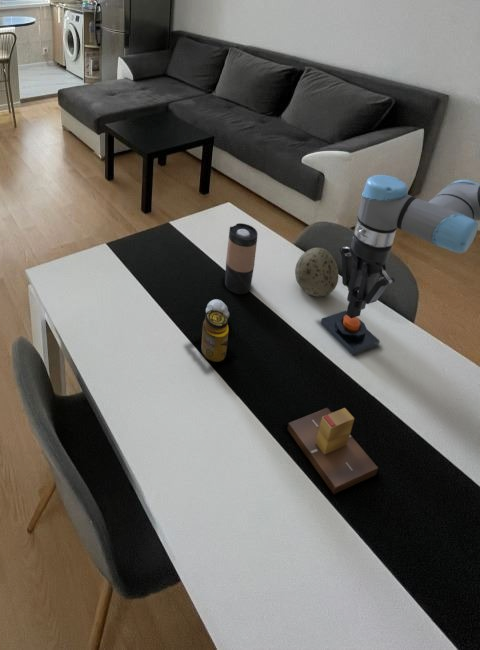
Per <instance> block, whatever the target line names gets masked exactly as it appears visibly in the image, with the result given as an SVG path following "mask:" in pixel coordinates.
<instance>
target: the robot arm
mask: <svg viewBox="0 0 480 650" xmlns="http://www.w3.org/2000/svg"><path fill="white" fill-rule="evenodd" d="M408 188H409V187H408V185H407V183H406V182H404V181H402V180H401V179H400V178H398V177H395V176H392V175H385V174H376V175H375V174H374V175H372V176H370V177H368V178H367V180H366V182H365V184H364V188H363V191H362V193H361V198H360V203H359V208H358V214H357V217H356V222H355V225H354V230H353V234H352V238H351V241H350V245H346V246H342V247H340V248H339V252H340V256H341V281H342V285H343V286H344V287H347V291H348V293H347V297H346V300H347V302H348V305H347V309H346V311H347V313H346V314H347V315H348V316H349V317H350V318H354V317H357V318H358V317H360V316H361V313H362V310H365V309H366V307H367V306H366V305H370V304H372V303H376V302H377V301H378V299H380V297H381V296H382V294H383V293H384V292H385V290H386V289H387V288H388V287H389V285H391V284H394V283H396V279H395V278H394V277H393V276H389V274H388V273H387V262H388V260H389V258H390V254H391V251H392V247H393V246H392V245H393V244H394V240H395V236H396V233H397V229H399V230H401V231H404V232H406V233H408V234H411V235H413V236H414V237H417V238H419V239H421V240H424V241H426V242H428V243H430V244H433V245H435V247H438V248H442V249H446V250H448V251H451V252H453V253H456V254H464V253H466V252H467V251H468V250H469V248H470V246H471V245H472V243H473V241H474V239H475V238H476V235H477V232H478V229H479V223H478V222H477V221H480V183H479V182H476V181H473V180H470V179H458V180H455V181H452V182H451V183H449V184H447V185H445V186H444V187H443V188H442V189H441V190H440V191H439V192H438V193H437V194H436V195H435V196H434V197H432V199H430V200H429V201H426V200H423V199H421V198H418V197H415V196H413V195H410V194H409V191H408ZM377 275H379V276H378V278H377ZM375 278H377V282H375V283H374V281H375Z"/></svg>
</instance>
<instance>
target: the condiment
mask: <svg viewBox="0 0 480 650" xmlns="http://www.w3.org/2000/svg"><path fill="white" fill-rule="evenodd" d="M228 324H229V318H228V319H227V316H226V315H225V314H224V313H223V312H221V311H219V310H210V311H208V312H207V313H206V312H205V316H204V320H203V321H202V332H201V333H202V334H201V335H202V336H201V346H200V347H201V349H200V350H201V353H202V355H203V356H204V358H205V359H207V360H208V361H210V362H213V363H219V362H223V361H224V359H225V358H226V357H227V351H228V350H227V349H228V341H229V334H230V333H229V332H230V330H229V325H228Z"/></svg>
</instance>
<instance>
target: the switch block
mask: <svg viewBox="0 0 480 650" xmlns="http://www.w3.org/2000/svg"><path fill="white" fill-rule="evenodd" d="M346 313H347V310H344V311H340V312H338V313H335V314H332V315H328V316H325V317H323V318H321V320H320V325H321V326H322V327H323V328H324V329H325V330H326V331H327V332H328V333H329V334H330V335H331V336H332V337H333V338H334V339H335V340H336V341H337V342H338V343H339V344H340V345H341V346H342V347H344V349H345V350H346V351H348V352H349V354H351V356H355V355H358V354H361V353H364V352H366V351H370V350H372V349H375V348H377V347H379V345H380V339H379V338H377V337H376V336H375V335H374V334H373V333H372V332H371V331H370V330H368V328H367V327H366V325H365V323H364V322H363V321H362V320H361V319H360V318H359V317H357V318H358V319H359V320H360V327H359V330H358V331H351V330H349V329H347V328H346V327H345V326H344V325H343V319H344V316H345V315H347V314H346Z"/></svg>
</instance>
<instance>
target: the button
mask: <svg viewBox="0 0 480 650" xmlns="http://www.w3.org/2000/svg"><path fill="white" fill-rule="evenodd" d="M358 318H359V317H358V316H357V317H354V318H350V317H349V316H348V315H345V316H344V319H343V325H344V326H345V327H346V328H347V329H349V330H351V331H358V330H359V327H360V320H361V319H360V318H359V319H360V320H359V319H358Z"/></svg>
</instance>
